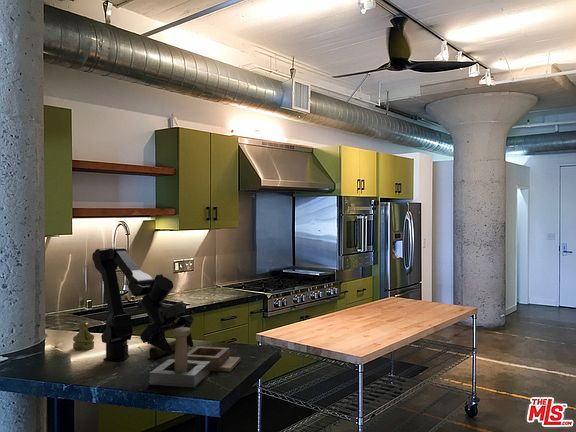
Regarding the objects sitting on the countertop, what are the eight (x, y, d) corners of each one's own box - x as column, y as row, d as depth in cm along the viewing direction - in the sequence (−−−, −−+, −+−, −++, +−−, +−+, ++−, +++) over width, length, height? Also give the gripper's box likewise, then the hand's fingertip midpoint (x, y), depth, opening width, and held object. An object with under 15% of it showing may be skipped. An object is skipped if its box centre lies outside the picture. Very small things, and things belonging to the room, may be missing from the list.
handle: (193, 376, 155) (193, 328, 155) (181, 382, 149) (181, 332, 149) (180, 374, 157) (180, 326, 157) (168, 380, 151) (168, 331, 151)
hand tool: (156, 359, 173) (156, 346, 173) (148, 358, 175) (148, 344, 175) (193, 347, 189) (194, 335, 189) (185, 346, 191) (186, 334, 191)
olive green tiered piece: (68, 350, 184) (68, 323, 184) (81, 345, 191) (81, 319, 191) (86, 351, 182) (86, 324, 182) (98, 346, 189) (98, 320, 189)
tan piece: (171, 367, 163) (171, 355, 163) (185, 357, 175) (185, 345, 175) (230, 371, 160) (230, 358, 160) (240, 360, 171) (240, 348, 171)
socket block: (149, 384, 148) (149, 372, 148) (169, 369, 161) (169, 359, 161) (194, 387, 145) (194, 375, 145) (210, 372, 159) (210, 361, 159)
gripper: (147, 298, 147) (174, 340, 142) (189, 290, 164) (216, 327, 158) (128, 322, 151) (154, 363, 146) (171, 311, 168) (197, 348, 162)
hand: (182, 349), depth 153 cm, fingers open, 9 cm apart
